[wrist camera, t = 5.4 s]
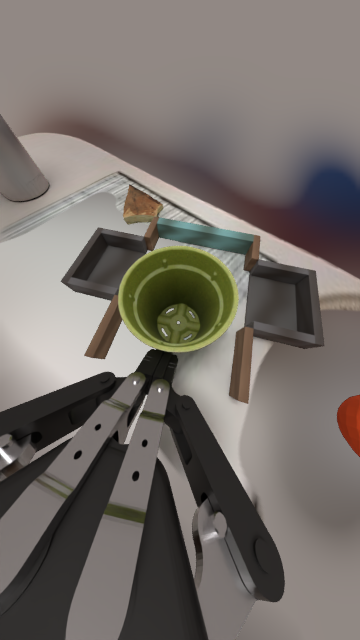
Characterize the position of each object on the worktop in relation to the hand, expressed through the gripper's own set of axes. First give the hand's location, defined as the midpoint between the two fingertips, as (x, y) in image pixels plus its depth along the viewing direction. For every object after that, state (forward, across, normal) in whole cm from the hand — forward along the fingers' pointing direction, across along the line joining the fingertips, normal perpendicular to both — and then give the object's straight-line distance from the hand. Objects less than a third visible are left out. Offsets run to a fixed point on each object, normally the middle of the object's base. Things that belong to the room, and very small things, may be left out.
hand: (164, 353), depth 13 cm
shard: (+22, +15, -15) cm, 31 cm away
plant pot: (+6, 0, 0) cm, 6 cm away
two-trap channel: (+10, 0, -4) cm, 10 cm away
